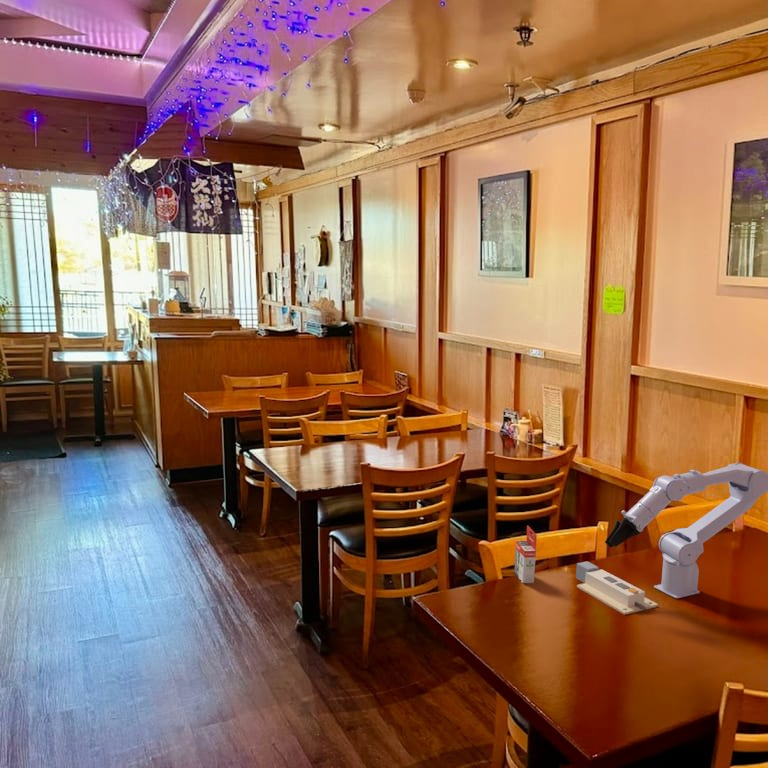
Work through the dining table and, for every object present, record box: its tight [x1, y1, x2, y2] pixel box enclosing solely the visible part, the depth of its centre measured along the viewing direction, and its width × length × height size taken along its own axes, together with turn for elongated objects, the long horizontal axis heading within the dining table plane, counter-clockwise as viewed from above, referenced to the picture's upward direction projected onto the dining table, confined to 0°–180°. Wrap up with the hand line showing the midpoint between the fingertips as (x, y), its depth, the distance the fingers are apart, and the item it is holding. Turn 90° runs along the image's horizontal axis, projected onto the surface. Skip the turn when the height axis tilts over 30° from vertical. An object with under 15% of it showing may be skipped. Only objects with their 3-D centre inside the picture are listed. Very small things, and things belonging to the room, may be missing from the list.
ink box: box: [513, 525, 537, 584], centre depth 195 cm, size 4×8×15 cm, turn 7°
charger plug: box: [575, 561, 599, 584], centre depth 193 cm, size 4×8×4 cm, turn 26°
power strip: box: [576, 569, 659, 615], centre depth 184 cm, size 12×19×4 cm, turn 26°
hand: (610, 544), depth 182 cm, fingers open, 7 cm apart
